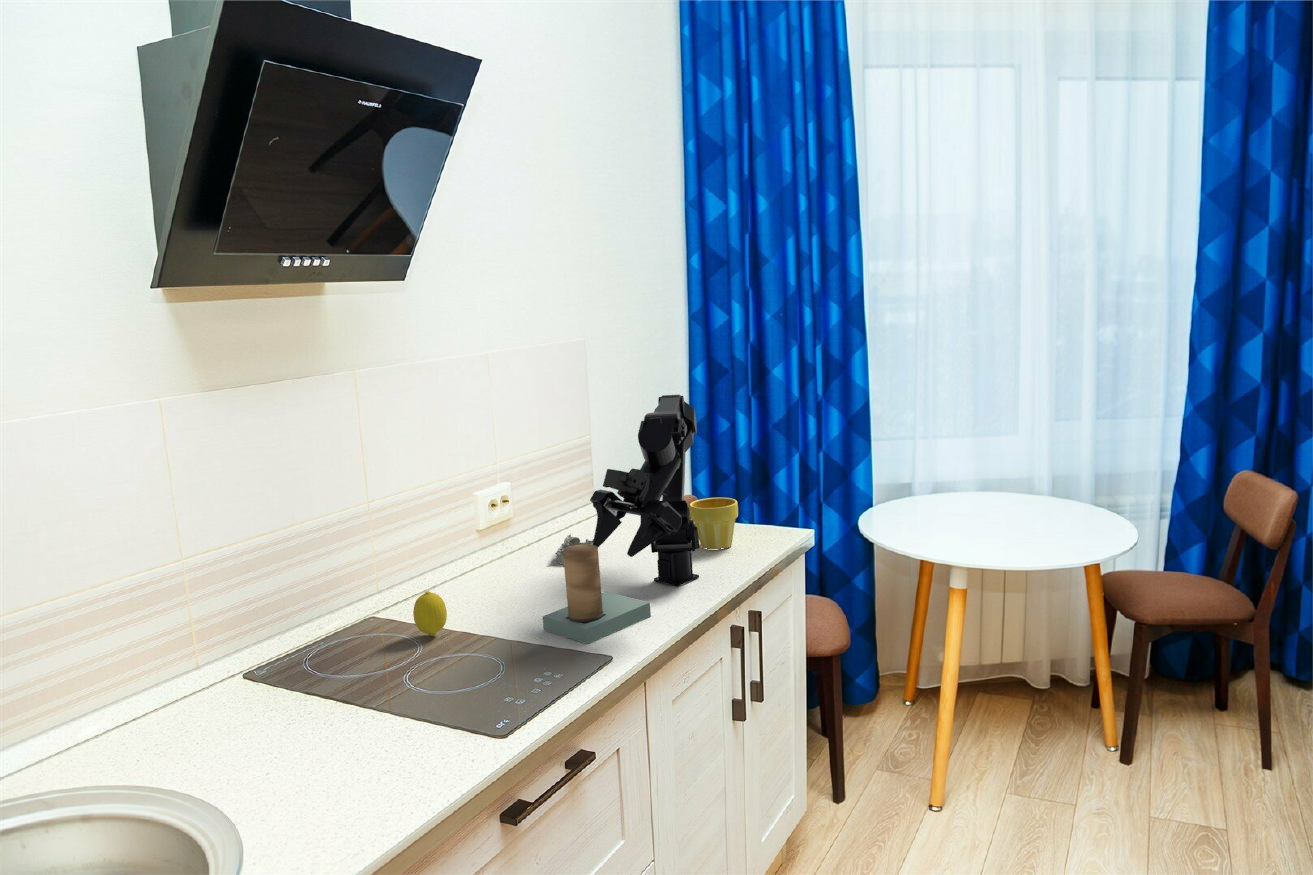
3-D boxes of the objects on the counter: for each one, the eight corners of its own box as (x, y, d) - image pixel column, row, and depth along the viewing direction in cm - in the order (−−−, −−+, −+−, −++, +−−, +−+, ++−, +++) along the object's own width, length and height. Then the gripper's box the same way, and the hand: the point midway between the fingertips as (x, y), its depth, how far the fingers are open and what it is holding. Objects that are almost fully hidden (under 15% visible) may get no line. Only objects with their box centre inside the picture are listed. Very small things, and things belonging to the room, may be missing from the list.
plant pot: (689, 542, 209) (686, 499, 207) (735, 537, 210) (732, 495, 208) (696, 555, 198) (693, 510, 197) (744, 550, 199) (741, 505, 198)
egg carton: (570, 551, 209) (569, 533, 208) (602, 551, 207) (601, 533, 206) (552, 565, 199) (551, 546, 198) (586, 565, 197) (584, 546, 196)
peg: (587, 620, 163) (581, 542, 161) (611, 627, 159) (605, 547, 157) (562, 631, 159) (555, 551, 157) (586, 638, 155) (579, 556, 153)
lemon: (440, 642, 158) (435, 596, 157) (410, 642, 159) (405, 596, 158) (454, 630, 163) (449, 586, 162) (424, 629, 164) (419, 586, 163)
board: (606, 604, 171) (605, 591, 171) (650, 616, 164) (649, 602, 163) (543, 630, 160) (542, 616, 160) (587, 643, 153) (586, 629, 153)
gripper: (594, 445, 169) (549, 518, 164) (664, 455, 156) (619, 534, 150) (630, 480, 176) (588, 551, 170) (701, 492, 162) (658, 569, 157)
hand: (611, 551), depth 162 cm, fingers open, 9 cm apart
